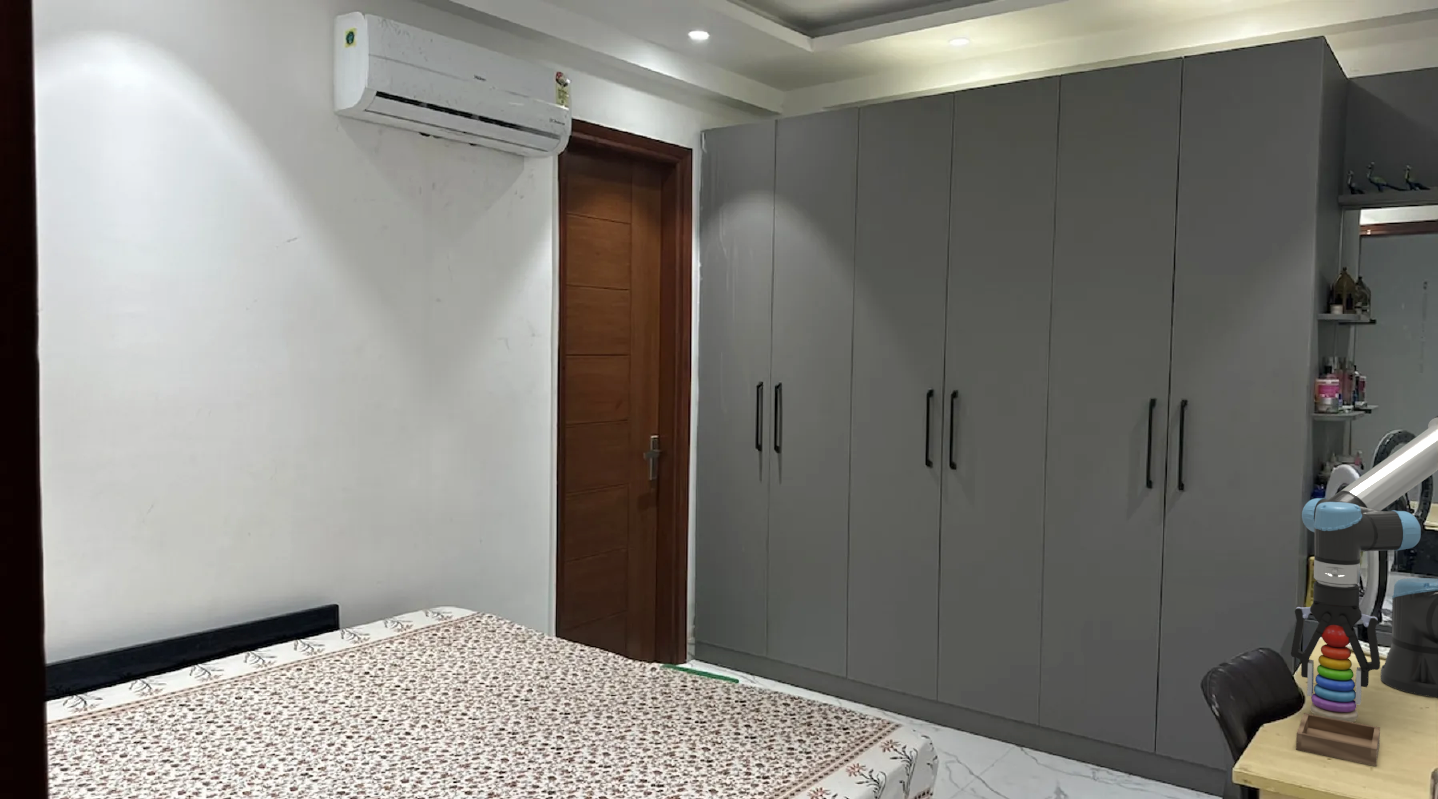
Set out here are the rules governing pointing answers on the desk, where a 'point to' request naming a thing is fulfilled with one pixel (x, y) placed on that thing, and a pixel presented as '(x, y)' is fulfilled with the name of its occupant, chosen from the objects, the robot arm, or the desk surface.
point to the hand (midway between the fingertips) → (1333, 697)
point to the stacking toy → (1335, 678)
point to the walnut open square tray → (1338, 739)
